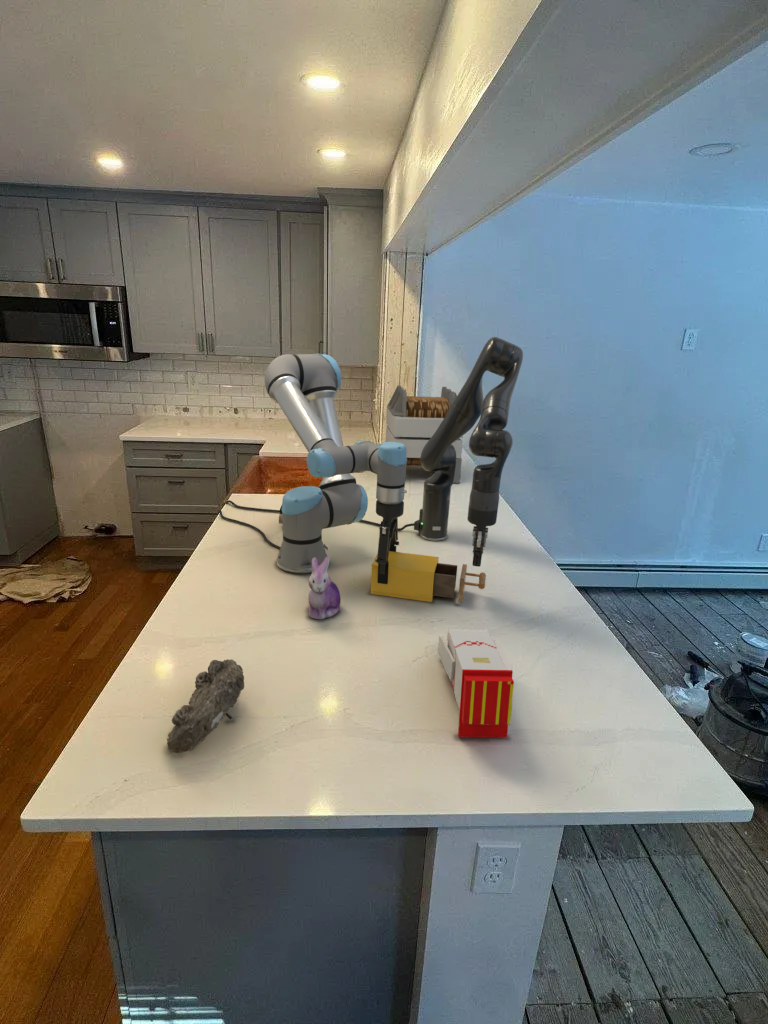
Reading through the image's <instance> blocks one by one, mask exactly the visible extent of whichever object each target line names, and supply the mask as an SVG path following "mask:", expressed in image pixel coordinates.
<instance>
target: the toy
mask: <svg viewBox="0 0 768 1024" xmlns="http://www.w3.org/2000/svg"><path fill="white" fill-rule="evenodd" d="M446 640H447V643H446V641H445V639H444V636H443V635H442V634H439V637H438V646H437V656H438V657H439V659H440V661H441V663H442V666H443V668H444V670H445V672H446V674H447V677H448V679H449V681H450V684H451V687H452V690H453V693H454V697H455V701H456V705H457V708H458V711H459V714H458V715H459V716H458V730H457V731H458V732H457V737H458V738H508V731H509V726H510V725H511V717H512V707H513V697H514V696H513V695H514V684H515V680H514V679H513V673H514V671H513V670H512V669H508V667H507V665H506V662H505V661H504V659H503V658H502V655H501V653H500V651H499V649H498V647H497V643H496V639H495V637H494V635H493V634H491V632H490V631H489V629H467V628H466V629H465V628H463V629H461V628H460V629H459V628H448V630H447V639H446Z"/></svg>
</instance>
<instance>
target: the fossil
mask: <svg viewBox="0 0 768 1024" xmlns="http://www.w3.org/2000/svg"><path fill="white" fill-rule="evenodd" d="M243 670H244V669H243V667H242V665H240V664H237V662H236V661H235V660H234V659H232V658H231V659H227V658H226V659H224V660H223V661H222V660H217V659H212V660H211V661H210V663H209V665H208V666H207V671H201V672H199V673H198V674H197V675H196V676H195V680H194V684H195V685H194V687H195V689H194V690H193V693H192V694H191V697H190V698H189V700H188V704H184V705H182V706H181V707H180V709H177V710H176V711H175V713H174V715H173V716H172V718H171V723H172V724H173V727H172V730H171V731H170V732H168V734H167V738H166V741H167V742H166V745H167V749H168V750H169V751H173V752H174V753H176V754H178V753H182V752H188V751H189V752H192V751H193V750H195V748H196V747H197V746H199V744H200V743H201V742H203V741H204V740H205V739H206V738H207V737H208V736H209V735H210V734H211V733H212V732H214V730H215V729H217V727H218V726H219V724H220V722H221V721H222V720H223V719H224V718H225V716H226V717H227V719H229V720H233V717H232V715H230V714H229V710H230V709H231V708H234V706H235V704H236V703H237V702H238V699H239V697H240V695H241V693H242V691H243V690H245V689H244V688H245V675H244V671H243Z"/></svg>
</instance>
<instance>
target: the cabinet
mask: <svg viewBox="0 0 768 1024" xmlns="http://www.w3.org/2000/svg"><path fill="white" fill-rule="evenodd" d="M375 559H377V555H375V557H374V559H373V561H372V563H371V570H370V571H371V572H370V594H371V595H376V596H383V597H392V598H399V599H406V600H412V601H420V602H427V603H433V600H434V596H433V584H434V573H435V570H436V566H437V563H439V559H440V558H439V556H435V555H425V554H419V553H418V554H417V553H409V552H401V551H396V552H393V551H389V556H388V561H389V566H388V584H381V583H377V582H378V563H377V562H375Z"/></svg>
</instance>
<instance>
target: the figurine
mask: <svg viewBox="0 0 768 1024" xmlns="http://www.w3.org/2000/svg"><path fill="white" fill-rule="evenodd" d="M330 561H331V558H330V556H328V555H327V557H326V558H325V559H324V560H323V562H322V563H321V565H320V564H319V562H318V560H317V559H316V558H315V557H314V558H313V559H312V573H310V576H309V579H308V587H309V588H310V591H309V593H308V597H307V598H308V612H309V614H308V615H309V617H310V618H312V619H315V620H324V619H326V618H332V617H333V616H335V615H336V614H337V613H338V612H339V611H340V607H341V599H342V598H341V592H340V589H339V587H338V585H337V584H336V583H335V582H334V581H332V580H331V577H330V575H329V574H328V571H329V566H330Z"/></svg>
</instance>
